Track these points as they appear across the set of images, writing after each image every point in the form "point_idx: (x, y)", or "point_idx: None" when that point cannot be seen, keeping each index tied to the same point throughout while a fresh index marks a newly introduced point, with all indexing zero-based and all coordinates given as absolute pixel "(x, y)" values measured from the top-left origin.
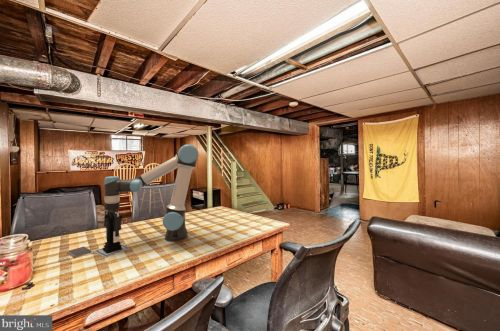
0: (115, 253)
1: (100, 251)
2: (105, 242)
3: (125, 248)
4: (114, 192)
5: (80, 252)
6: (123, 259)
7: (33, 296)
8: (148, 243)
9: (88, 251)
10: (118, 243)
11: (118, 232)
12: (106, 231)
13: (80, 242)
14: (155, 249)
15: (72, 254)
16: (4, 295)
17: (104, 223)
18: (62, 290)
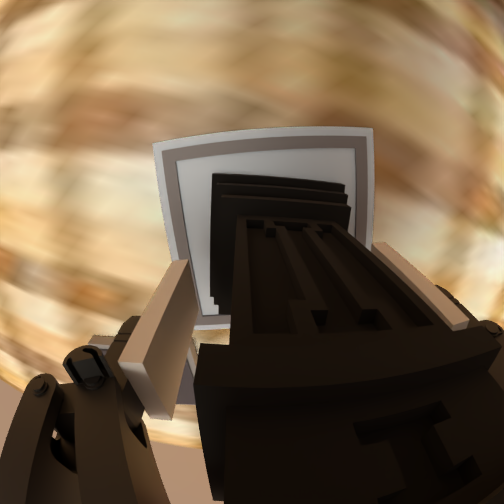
0: (370, 250)
1: None
2: (218, 308)
3: (345, 158)
4: None
5: (190, 387)
6: (467, 250)
7: None
8: (369, 3)
9: (193, 358)
10: (346, 226)
11: (470, 319)
12: (178, 383)
13: (5, 307)
14: (486, 73)
15: (184, 404)
16: None
17: (76, 470)
18: None
